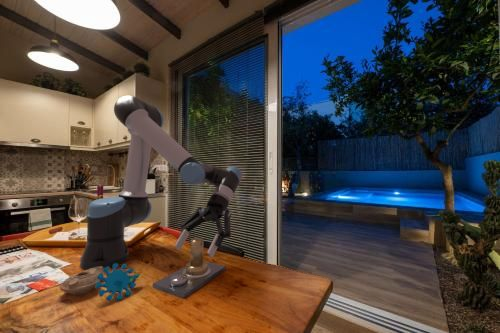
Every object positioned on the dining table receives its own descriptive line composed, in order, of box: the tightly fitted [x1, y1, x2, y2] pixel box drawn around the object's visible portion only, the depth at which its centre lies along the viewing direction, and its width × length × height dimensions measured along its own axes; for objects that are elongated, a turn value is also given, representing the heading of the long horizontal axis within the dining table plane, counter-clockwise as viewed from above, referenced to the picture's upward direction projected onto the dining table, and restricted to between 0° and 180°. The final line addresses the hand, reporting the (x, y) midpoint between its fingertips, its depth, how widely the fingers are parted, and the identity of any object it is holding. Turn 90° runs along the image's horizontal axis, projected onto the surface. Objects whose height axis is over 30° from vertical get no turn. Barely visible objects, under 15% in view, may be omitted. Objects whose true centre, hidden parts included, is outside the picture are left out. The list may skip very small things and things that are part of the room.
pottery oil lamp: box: [59, 266, 105, 296], centre depth 63 cm, size 9×12×7 cm
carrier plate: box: [152, 261, 227, 299], centre depth 69 cm, size 12×20×2 cm, turn 153°
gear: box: [94, 263, 141, 302], centre depth 61 cm, size 11×6×10 cm
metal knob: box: [185, 237, 208, 276], centre depth 71 cm, size 7×7×10 cm
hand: (192, 251), depth 70 cm, fingers open, 13 cm apart
